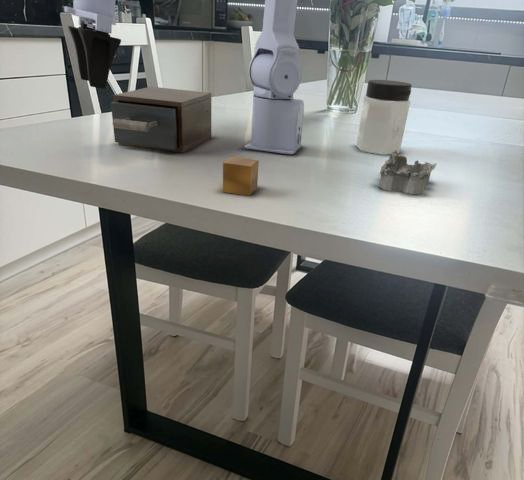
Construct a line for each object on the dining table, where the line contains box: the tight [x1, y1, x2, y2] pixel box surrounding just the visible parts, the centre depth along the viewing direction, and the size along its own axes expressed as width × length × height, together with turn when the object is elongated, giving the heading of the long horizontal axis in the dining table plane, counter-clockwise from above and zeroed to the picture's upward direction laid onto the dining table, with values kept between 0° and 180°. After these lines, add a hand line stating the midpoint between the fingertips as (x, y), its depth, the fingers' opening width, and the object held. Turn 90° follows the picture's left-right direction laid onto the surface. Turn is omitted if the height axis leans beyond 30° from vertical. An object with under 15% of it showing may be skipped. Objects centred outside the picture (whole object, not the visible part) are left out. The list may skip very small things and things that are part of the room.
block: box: [222, 156, 260, 197], centre depth 68 cm, size 4×4×4 cm
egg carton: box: [378, 150, 437, 195], centre depth 76 cm, size 11×8×4 cm
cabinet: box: [113, 86, 212, 154], centre depth 90 cm, size 15×13×8 cm
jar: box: [355, 79, 413, 156], centre depth 94 cm, size 9×8×12 cm
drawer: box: [110, 101, 179, 150], centre depth 86 cm, size 18×11×6 cm, turn 165°
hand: (92, 84), depth 75 cm, fingers open, 7 cm apart
